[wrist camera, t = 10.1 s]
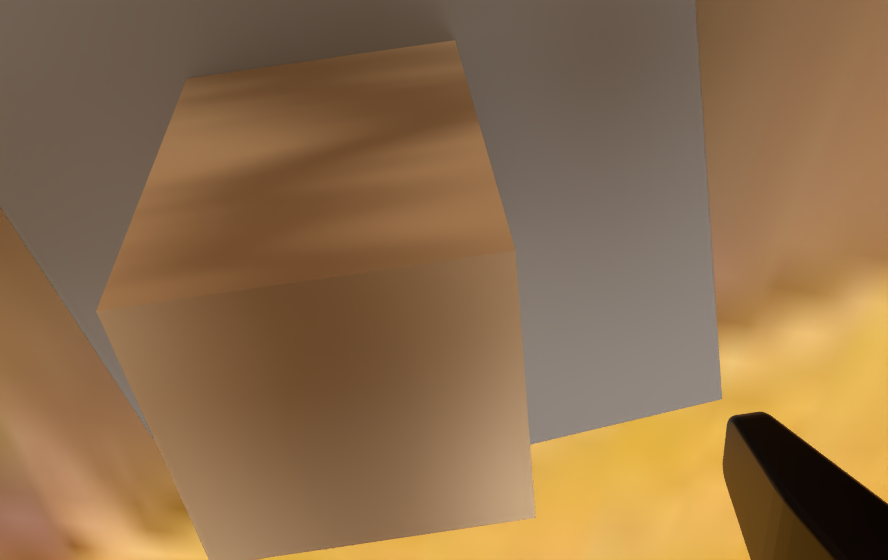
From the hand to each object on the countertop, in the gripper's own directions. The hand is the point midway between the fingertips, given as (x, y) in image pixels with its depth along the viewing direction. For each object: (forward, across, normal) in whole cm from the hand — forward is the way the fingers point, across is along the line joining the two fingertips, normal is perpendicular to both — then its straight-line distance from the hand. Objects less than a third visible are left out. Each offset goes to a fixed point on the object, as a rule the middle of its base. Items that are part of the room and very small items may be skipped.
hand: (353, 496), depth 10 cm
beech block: (+9, 0, 0) cm, 9 cm away
